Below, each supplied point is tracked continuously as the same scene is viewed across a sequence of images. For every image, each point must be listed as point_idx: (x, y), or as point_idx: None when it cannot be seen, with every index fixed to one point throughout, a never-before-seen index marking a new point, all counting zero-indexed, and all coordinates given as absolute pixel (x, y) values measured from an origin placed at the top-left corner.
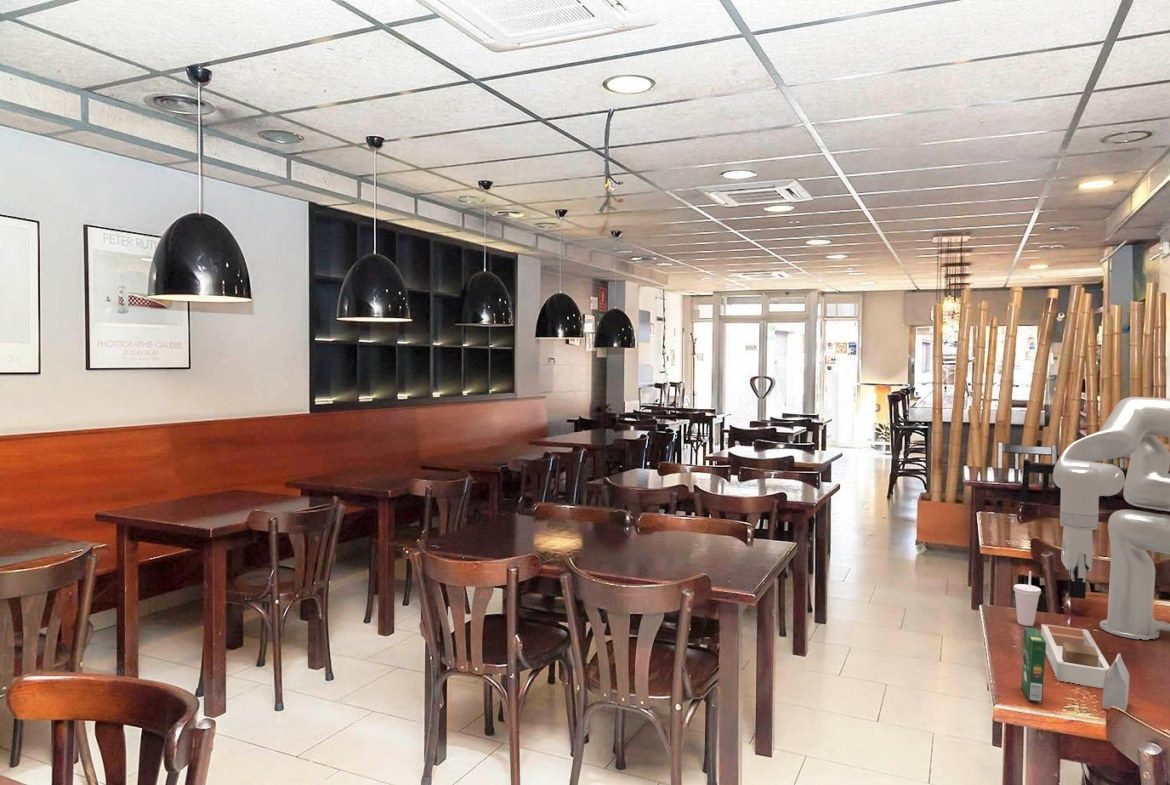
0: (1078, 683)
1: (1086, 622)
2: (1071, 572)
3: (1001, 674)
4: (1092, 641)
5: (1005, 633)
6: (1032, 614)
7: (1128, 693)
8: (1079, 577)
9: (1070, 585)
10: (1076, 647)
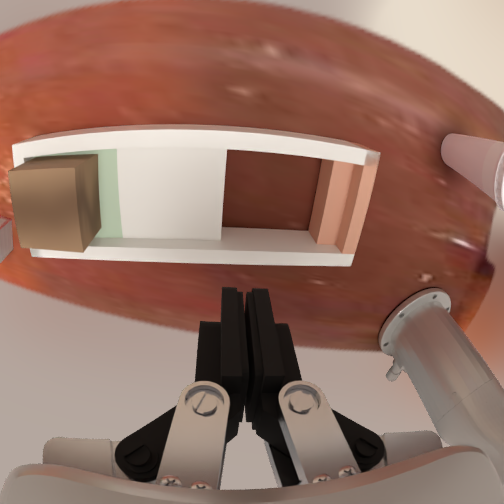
0: None
1: (455, 270)
2: (207, 455)
3: (34, 26)
4: (249, 259)
5: (377, 64)
6: (458, 166)
7: (3, 258)
8: (51, 442)
9: (222, 346)
10: (46, 202)
